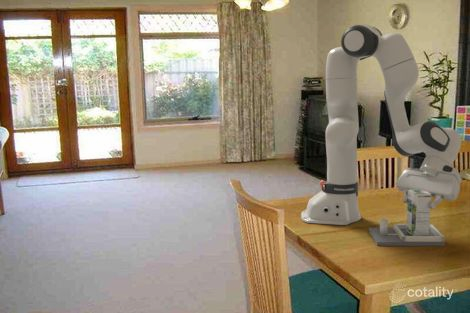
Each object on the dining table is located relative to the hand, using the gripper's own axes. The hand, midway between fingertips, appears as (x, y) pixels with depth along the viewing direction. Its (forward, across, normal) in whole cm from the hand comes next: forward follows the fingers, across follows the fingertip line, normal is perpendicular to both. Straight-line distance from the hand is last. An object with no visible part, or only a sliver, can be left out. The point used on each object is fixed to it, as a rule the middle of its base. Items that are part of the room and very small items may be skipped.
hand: (417, 204), depth 153 cm
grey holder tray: (+10, -3, +6) cm, 12 cm away
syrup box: (+7, 0, +8) cm, 10 cm away
